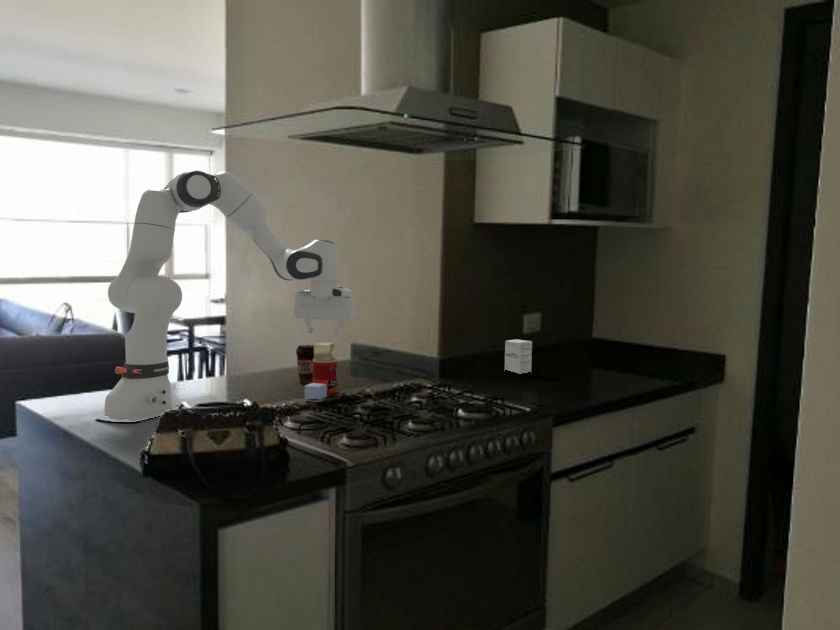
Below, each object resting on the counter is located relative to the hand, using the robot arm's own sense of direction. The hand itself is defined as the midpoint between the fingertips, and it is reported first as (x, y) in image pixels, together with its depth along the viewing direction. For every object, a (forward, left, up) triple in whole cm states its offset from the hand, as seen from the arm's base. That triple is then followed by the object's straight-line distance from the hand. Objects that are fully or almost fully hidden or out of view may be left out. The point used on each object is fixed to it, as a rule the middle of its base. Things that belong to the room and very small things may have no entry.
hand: (324, 333), depth 242 cm
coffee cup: (+14, +13, -20) cm, 27 cm away
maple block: (0, 0, -8) cm, 8 cm away
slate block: (-13, -3, -19) cm, 23 cm away
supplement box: (+55, -53, -20) cm, 79 cm away
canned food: (0, 0, -20) cm, 20 cm away
